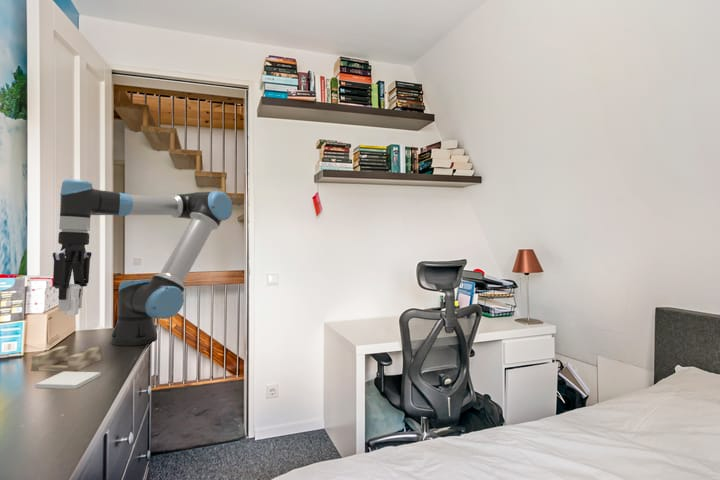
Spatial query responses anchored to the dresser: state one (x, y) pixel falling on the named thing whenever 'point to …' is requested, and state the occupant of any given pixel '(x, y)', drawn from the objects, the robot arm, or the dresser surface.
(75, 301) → the milkshake
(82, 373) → the pad
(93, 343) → the dresser surface
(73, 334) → the dresser surface
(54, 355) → the pocket holder
